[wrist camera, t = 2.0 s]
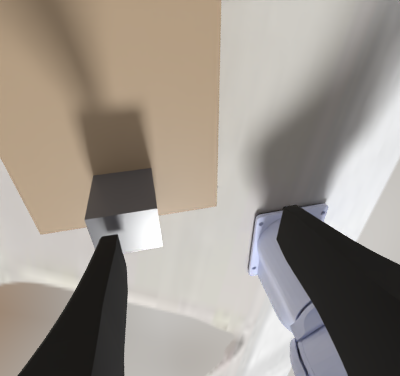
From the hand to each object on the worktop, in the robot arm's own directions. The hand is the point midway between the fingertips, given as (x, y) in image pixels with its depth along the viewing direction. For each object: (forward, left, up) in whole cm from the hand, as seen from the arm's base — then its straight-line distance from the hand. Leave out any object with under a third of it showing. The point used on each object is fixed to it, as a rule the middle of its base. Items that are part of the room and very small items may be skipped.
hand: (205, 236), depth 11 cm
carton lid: (+5, +3, -5) cm, 8 cm away
